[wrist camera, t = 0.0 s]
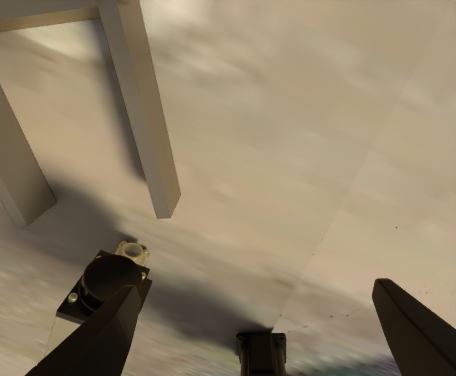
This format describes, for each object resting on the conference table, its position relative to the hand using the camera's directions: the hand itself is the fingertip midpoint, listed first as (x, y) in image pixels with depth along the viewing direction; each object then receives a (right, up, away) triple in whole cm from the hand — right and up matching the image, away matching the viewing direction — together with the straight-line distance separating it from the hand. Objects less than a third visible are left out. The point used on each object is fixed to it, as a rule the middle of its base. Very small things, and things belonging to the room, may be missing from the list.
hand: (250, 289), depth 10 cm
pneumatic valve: (-11, -4, +20) cm, 23 cm away
